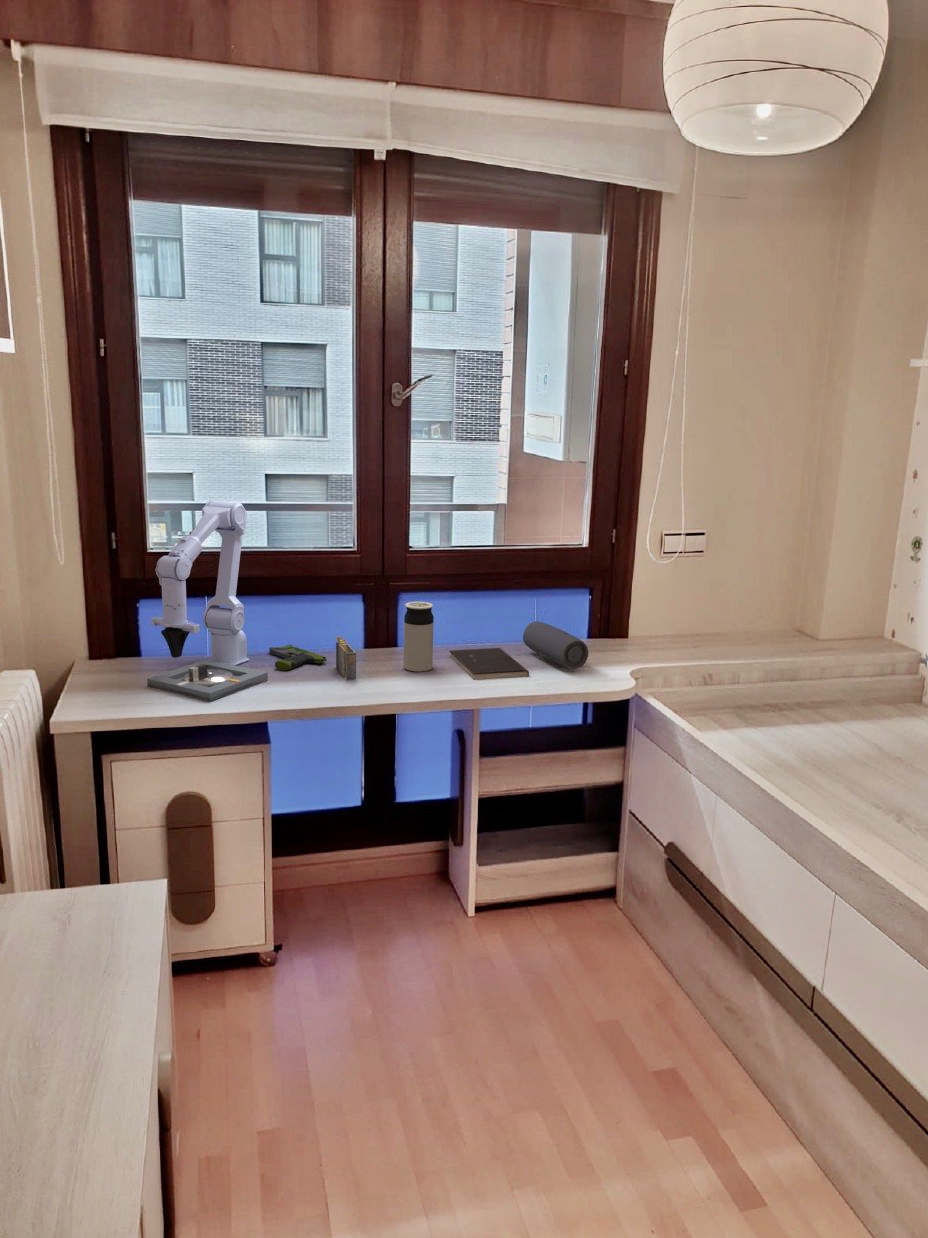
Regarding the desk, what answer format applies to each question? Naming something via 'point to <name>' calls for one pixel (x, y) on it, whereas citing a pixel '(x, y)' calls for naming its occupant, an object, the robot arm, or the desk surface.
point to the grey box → (345, 659)
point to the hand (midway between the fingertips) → (176, 656)
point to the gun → (294, 657)
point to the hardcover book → (488, 663)
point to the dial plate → (177, 685)
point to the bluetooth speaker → (555, 645)
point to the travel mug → (418, 636)
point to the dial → (207, 676)
